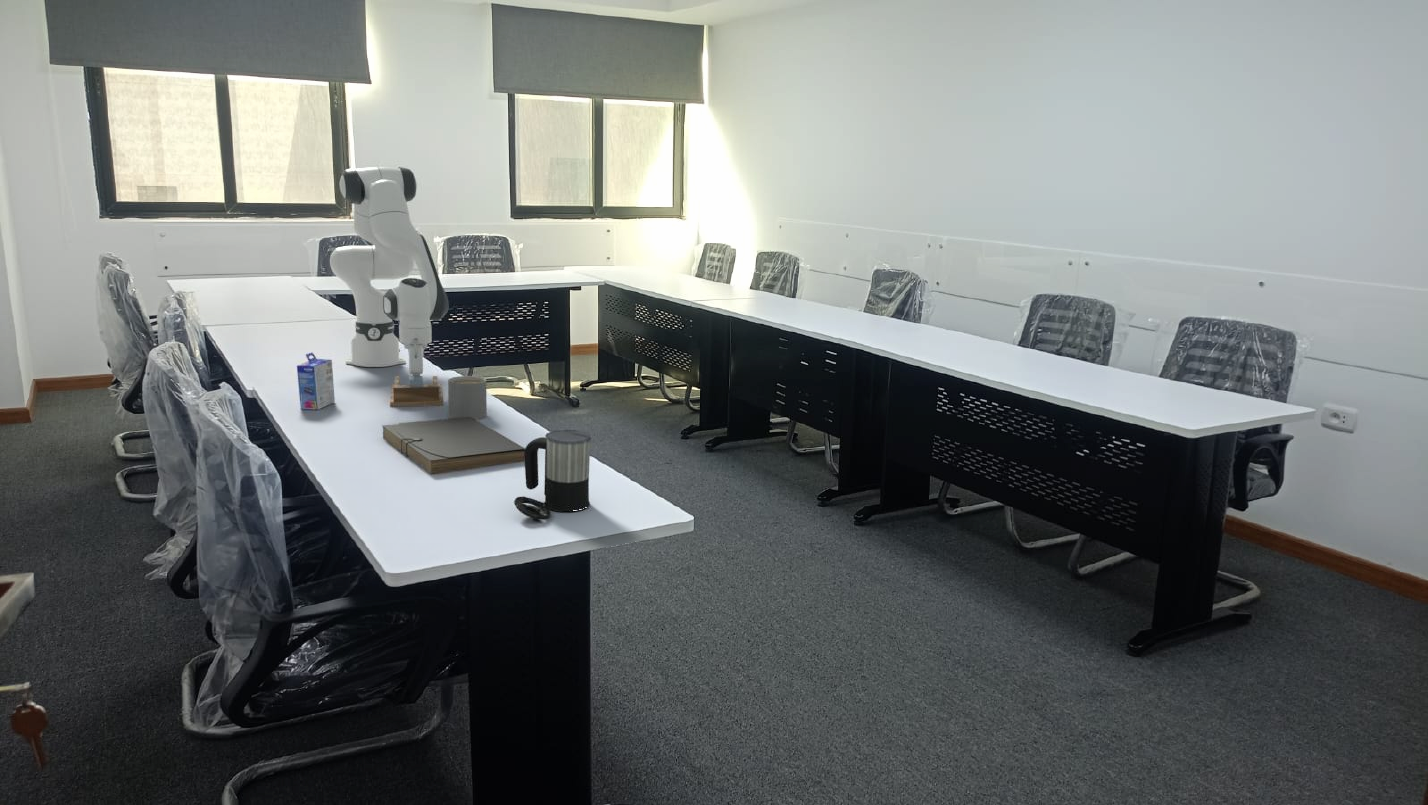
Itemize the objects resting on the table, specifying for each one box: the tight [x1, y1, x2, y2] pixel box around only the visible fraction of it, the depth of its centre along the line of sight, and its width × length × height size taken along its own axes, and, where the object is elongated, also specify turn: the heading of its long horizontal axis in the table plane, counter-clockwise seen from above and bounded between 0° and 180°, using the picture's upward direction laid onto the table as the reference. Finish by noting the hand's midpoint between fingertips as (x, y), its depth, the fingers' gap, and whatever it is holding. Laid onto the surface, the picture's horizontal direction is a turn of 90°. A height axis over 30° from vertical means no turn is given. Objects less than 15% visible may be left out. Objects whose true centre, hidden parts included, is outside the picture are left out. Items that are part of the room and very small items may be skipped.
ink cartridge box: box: [296, 352, 336, 411], centre depth 262 cm, size 10×6×14 cm, turn 174°
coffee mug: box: [447, 375, 488, 421], centre depth 261 cm, size 13×10×10 cm
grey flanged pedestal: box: [408, 375, 424, 387], centre depth 274 cm, size 6×8×5 cm
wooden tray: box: [389, 375, 444, 407], centre depth 278 cm, size 22×14×5 cm, turn 17°
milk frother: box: [513, 429, 593, 521], centre depth 190 cm, size 14×16×15 cm
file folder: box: [381, 417, 526, 475], centre depth 230 cm, size 33×4×24 cm
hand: (416, 383), depth 278 cm, fingers closed
